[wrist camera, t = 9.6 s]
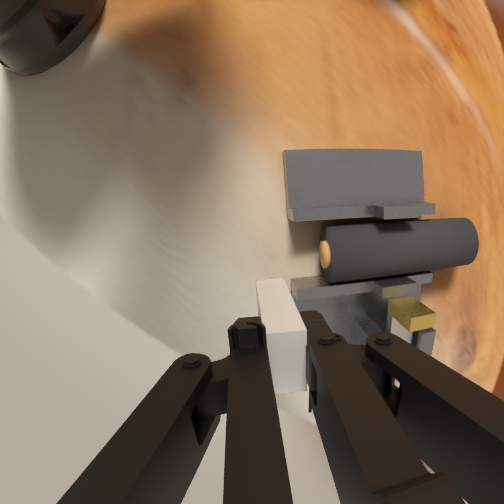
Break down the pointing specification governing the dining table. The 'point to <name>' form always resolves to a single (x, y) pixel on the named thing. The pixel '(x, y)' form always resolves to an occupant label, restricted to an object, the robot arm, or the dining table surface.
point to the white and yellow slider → (408, 317)
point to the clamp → (357, 206)
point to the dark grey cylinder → (395, 247)
